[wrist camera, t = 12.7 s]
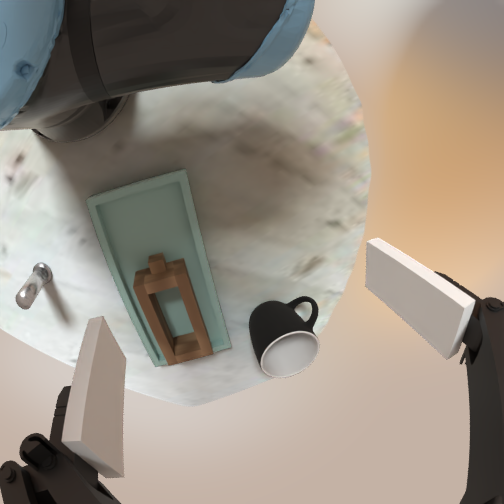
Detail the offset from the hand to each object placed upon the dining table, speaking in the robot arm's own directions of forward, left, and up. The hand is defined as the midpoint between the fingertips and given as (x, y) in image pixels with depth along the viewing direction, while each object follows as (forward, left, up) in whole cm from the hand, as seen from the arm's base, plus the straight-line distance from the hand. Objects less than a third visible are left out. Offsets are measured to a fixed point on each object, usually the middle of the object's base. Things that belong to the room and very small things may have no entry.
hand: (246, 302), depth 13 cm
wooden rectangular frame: (+16, -7, -26) cm, 31 cm away
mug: (+22, +8, -27) cm, 36 cm away
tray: (+11, -7, -27) cm, 30 cm away
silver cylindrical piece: (+5, -25, -27) cm, 37 cm away
